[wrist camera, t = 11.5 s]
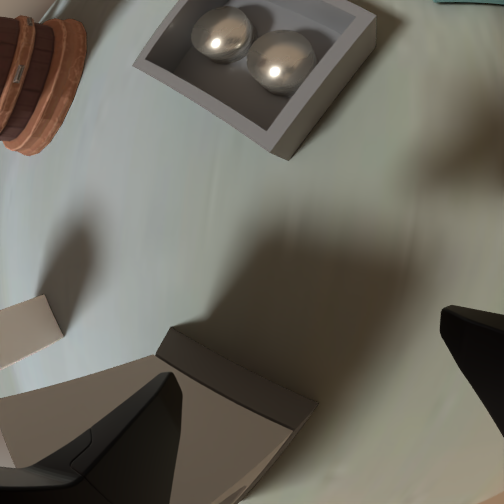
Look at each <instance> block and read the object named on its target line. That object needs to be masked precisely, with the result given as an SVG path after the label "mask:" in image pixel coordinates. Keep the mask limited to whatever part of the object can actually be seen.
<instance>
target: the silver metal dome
mask: <svg viewBox="0 0 504 504" xmlns="http://www.w3.org/2000/svg"><path fill="white" fill-rule="evenodd" d="M256 40H257V30H256V28H255V27H254V25H253V24H252V23H251V21H250V20H249V19H248V18H247V16H246V15H245V14H244V13H243V12H242V11H241V10H240V9H238V8H236V7H232V6H222V7H217V8H214V9H212V10H210V11H208V12H207V13H205V14H204V15H203V16H202V17H200V19H199V20H198V21H197V22H196V24H195V25H194V27H193V30H192V33H191V41H192V44H193V46H194V47H195V48H196V49H197V50H198V51H200V52H201V53H202V54H204V55H205V56H206V57H208V58H209V59H210V60H212V61H214V62H216V63H219V64H230V63H234V62H237V61H239V60H241V59H243V58H244V57H246V56H247V54H248V51H249V49H250V47H251V46H252V44H253V43H254V42H255V41H256Z"/></svg>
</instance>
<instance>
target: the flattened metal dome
mask: <svg viewBox="0 0 504 504" xmlns="http://www.w3.org/2000/svg"><path fill="white" fill-rule="evenodd" d="M317 64H318V61H317V58H316V55H315V53H314V50H313V48H312V46H311V44H310V42H309V41H308V40H307V39H306V38H305V37H304V36H303V35H301V34H299V33H297V32H295V31H291V30H275V31H271V32H268V33H266V34H264V35H262V36H261V37H259V38H258V39H257V40H256V41H255V42H254V43H253V44H252V46H251V47H250V49H249V51H248V54H247V67H248V70H249V72H250V74H251V75H252V76H253V78H255V79H256V80H257V81H258V82H259V83H260V84H261V85H262V86H263V87H264V88H265V89H266V90H267V91H269V92H270V93H272V94H274V95H277V96H283V97H290V96H293V95H294V94H295V92H296V91H297V90H298V88H299V87H300V86H301V85H302V83H303V82H304V81H305V79H306V78H307V77H308V76H309V74H310V73H311V72H312V70H313V69H314V68H315V67H316V65H317Z"/></svg>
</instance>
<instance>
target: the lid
mask: <svg viewBox="0 0 504 504" xmlns="http://www.w3.org/2000/svg"><path fill="white" fill-rule="evenodd" d="M433 1H434V2H479V3H494V4H504V0H433Z"/></svg>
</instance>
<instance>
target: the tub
mask: <svg viewBox="0 0 504 504" xmlns="http://www.w3.org/2000/svg"><path fill="white" fill-rule="evenodd" d="M222 6H232V7H236V8H238V9H240V10H241V11H242V12H243V13H244V14H245V15H246V16H247V18H248V19H249V20H250V21H251V23H252V24H253V25H254V27H255V28H256V30H257V39H258V38H259V37H261V36H262V35H264V34H266V33H268V32H271V31H275V30H291V31H295V32H297V33H299V34H301V35H303V36H304V37H305V38H306V39H307V40H308V41H309V42H310V44H311V46H312V48H313V50H314V53H315V55H316V58H317V61H318V64H317V65H316V67H315V68H314V69H313V70H312V72H311V73H310V74H309V76H308V77H307V78H306V79H305V81H304V82H303V83H302V85H301V86H300V87H299V88H298V90H297V91H296V92H295V94H294V95H293V96H290V97H283V96H277V95H274V94H272V93H270V92H269V91H267V90H266V89H265V88H264V87H263V86H262V85H261V84H260V83H259V82H258V81H257V80H256V79H255V78H253V76H252V75H251V74H250V72H249V70H248V67H247V56H246V57H244V58H243V59H241V60H239V61H237V62H234V63H230V64H219V63H216V62H214V61H212V60H210V59H209V58H208V57H206V56H205V55H204V54H202V53H201V52H200V51H198V50H197V49H196V48H195V47H194V46H193V44H192V41H191V33H192V30H193V27H194V25H195V24H196V22H197V21H198V20H199V19H200V17H202V16H203V15H204V14H205V13H207V12H208V11H210V10H212V9H214V8H217V7H222ZM376 24H377V15H375V14H373V13H371V12H369V11H367V10H365V9H363V8H361V7H359V6H357V5H355V4H353V3H351V2H349V1H347V0H179V1H178V2H177V3H176V5H175V6H174V7H173V8H172V10H171V11H170V12H169V13H168V15H167V16H166V17H165V19H164V20H163V21H162V23H161V24H160V25H159V27H158V28H157V29H156V31H155V32H154V34H153V35H152V36H151V38H150V39H149V41H148V42H147V44H146V45H145V47H144V48H143V50H142V51H141V53H140V54H139V56H138V57H137V59H136V60H135V62H134V64H133V65H132V66H134V67H135V68H137V69H139V70H141V71H143V72H145V73H146V74H148V75H150V76H152V77H153V78H155V79H157V80H159V81H160V82H162V83H164V84H166V85H167V86H169V87H171V88H172V89H174V90H176V91H177V92H179V93H181V94H182V95H184V96H186V97H187V98H189V99H190V100H192V101H194V102H195V103H197V104H198V105H200V106H202V107H203V108H205V109H206V110H208V111H209V112H211V113H213V114H214V115H216V116H217V117H219V118H220V119H222V120H223V121H225V122H226V123H228V124H229V125H231V126H232V127H234V128H235V129H237V130H238V131H240V132H241V133H242V134H244V135H245V136H247V137H248V138H250V139H251V140H253V141H254V142H255V143H257V144H258V145H260V146H261V147H262V148H264V149H265V150H267V151H268V152H269V153H272V154H274V155H276V156H278V157H281V158H283V159H285V160H287V161H289V159H290V158H291V157H292V155H293V154H294V153H295V151H296V150H297V149H298V147H299V146H300V145H301V143H302V142H303V141H304V139H305V138H306V137H307V135H308V134H309V133H310V131H311V130H312V129H313V127H314V126H315V125H316V123H317V122H318V121H319V119H320V118H321V117H322V115H323V114H324V113H325V111H326V110H327V109H328V107H329V106H330V105H331V103H332V102H333V101H334V100H335V98H336V97H337V96H338V94H339V93H340V92H341V90H342V89H343V88H344V87H345V85H346V84H347V83H348V81H349V80H350V79H351V78H352V76H353V75H354V74H355V72H356V71H357V70H358V69H359V67H360V66H361V65H362V63H363V62H364V61H365V60H366V58H367V57H368V56H369V55H370V53H371V52H372V51H373V49H374V48H375V47H376Z"/></svg>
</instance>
